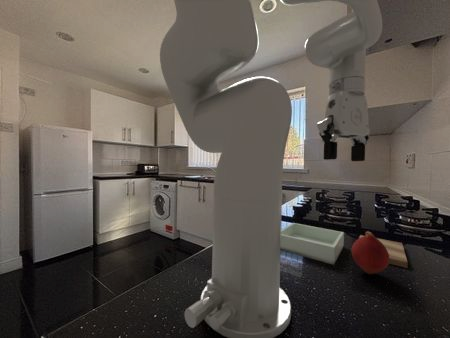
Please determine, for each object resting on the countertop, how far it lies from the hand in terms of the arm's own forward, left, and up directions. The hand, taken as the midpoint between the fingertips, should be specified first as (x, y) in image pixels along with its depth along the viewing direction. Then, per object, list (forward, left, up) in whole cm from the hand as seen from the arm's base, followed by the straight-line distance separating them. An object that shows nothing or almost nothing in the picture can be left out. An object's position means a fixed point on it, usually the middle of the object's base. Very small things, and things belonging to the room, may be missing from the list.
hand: (344, 160), depth 49 cm
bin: (-4, +7, -22) cm, 23 cm away
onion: (-10, -6, -22) cm, 25 cm away
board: (+5, -7, -22) cm, 24 cm away
